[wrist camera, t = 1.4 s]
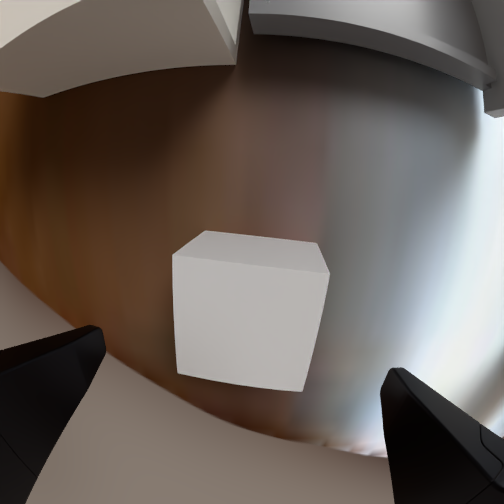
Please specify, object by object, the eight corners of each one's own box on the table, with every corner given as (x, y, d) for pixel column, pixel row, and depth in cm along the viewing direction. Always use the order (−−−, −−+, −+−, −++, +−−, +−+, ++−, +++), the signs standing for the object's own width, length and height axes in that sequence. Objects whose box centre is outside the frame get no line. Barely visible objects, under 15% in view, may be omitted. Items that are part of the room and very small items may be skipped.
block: (316, 242, 12) (329, 273, 8) (299, 337, 14) (302, 391, 10) (205, 230, 13) (172, 254, 9) (203, 324, 14) (177, 372, 10)
